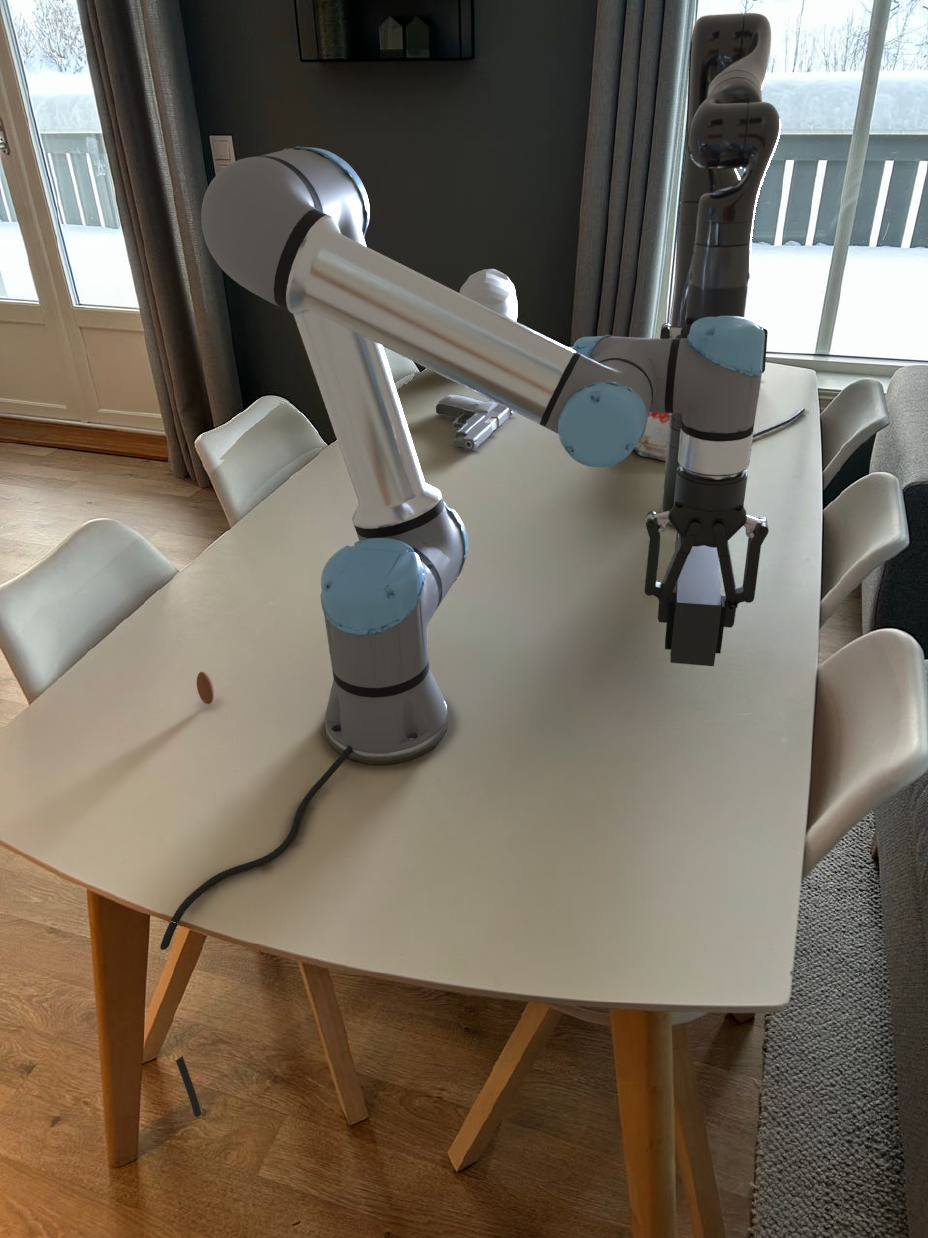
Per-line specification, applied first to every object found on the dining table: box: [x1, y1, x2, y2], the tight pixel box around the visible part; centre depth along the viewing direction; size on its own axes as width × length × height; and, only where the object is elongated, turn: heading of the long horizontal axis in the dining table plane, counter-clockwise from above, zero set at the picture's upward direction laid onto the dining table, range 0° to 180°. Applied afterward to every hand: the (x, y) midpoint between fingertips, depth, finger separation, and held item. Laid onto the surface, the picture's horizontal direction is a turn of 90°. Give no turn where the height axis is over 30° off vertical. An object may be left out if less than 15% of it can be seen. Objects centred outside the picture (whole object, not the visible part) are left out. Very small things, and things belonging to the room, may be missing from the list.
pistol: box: [435, 393, 515, 452], centre depth 203 cm, size 25×4×18 cm
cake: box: [633, 412, 670, 462], centre depth 189 cm, size 23×24×10 cm
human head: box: [459, 268, 518, 322], centre depth 240 cm, size 16×21×25 cm
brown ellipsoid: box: [196, 671, 215, 705], centre depth 118 cm, size 2×2×5 cm
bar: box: [669, 530, 722, 667], centre depth 117 cm, size 26×5×8 cm, turn 168°
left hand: (692, 645), depth 111 cm, fingers closed on bar, 5 cm apart
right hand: (705, 402), depth 126 cm, fingers open, 8 cm apart
